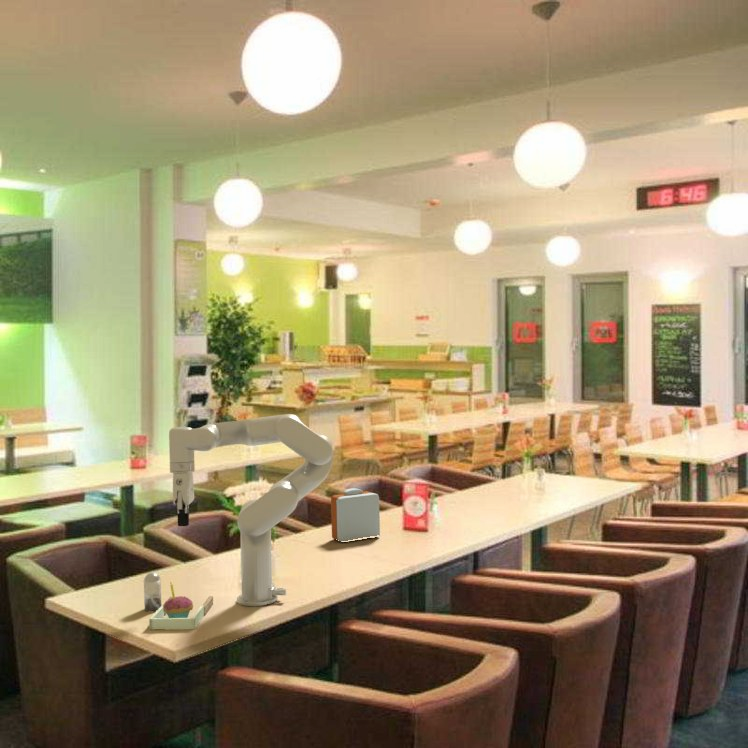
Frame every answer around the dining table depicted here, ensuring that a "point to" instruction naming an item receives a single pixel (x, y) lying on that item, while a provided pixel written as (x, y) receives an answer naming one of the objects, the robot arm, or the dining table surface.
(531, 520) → the dining table surface
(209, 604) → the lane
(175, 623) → the tray
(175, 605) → the cupcake
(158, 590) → the glass dome
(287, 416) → the robot arm
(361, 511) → the grey suitcase
